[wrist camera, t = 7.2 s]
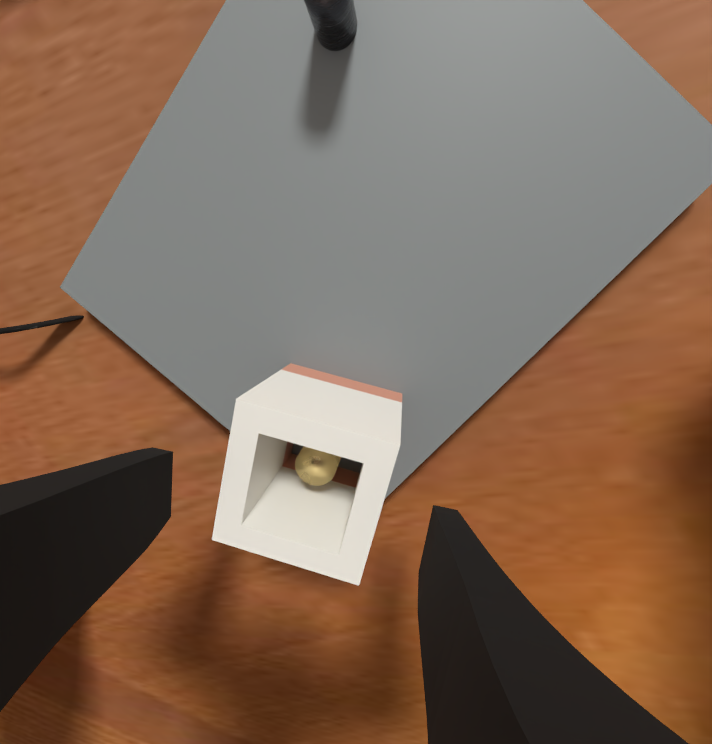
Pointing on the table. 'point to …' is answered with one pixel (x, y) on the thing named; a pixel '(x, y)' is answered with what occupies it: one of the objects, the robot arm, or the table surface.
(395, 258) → the pin board
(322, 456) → the brass pin
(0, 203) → the table surface
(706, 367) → the table surface
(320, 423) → the sleeve
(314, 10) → the black pin
